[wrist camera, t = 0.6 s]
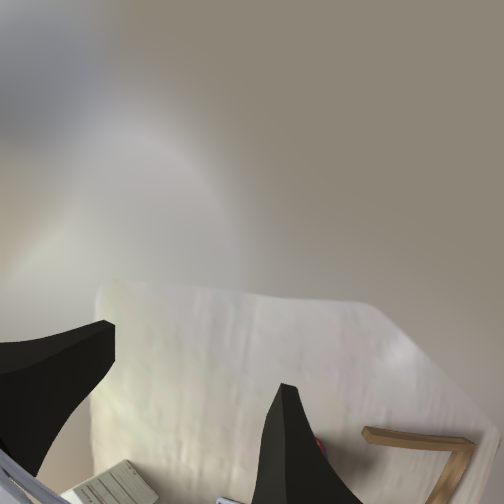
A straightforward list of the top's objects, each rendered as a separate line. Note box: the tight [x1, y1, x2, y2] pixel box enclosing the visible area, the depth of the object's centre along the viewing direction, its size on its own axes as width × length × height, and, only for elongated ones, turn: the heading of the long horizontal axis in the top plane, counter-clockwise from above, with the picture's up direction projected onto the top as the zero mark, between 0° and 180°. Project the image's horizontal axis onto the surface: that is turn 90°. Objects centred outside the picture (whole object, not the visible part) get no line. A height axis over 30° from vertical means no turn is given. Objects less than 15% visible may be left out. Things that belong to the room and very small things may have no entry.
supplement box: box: [59, 459, 159, 504], centre depth 22 cm, size 7×7×13 cm
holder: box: [361, 426, 476, 504], centre depth 23 cm, size 15×16×4 cm
